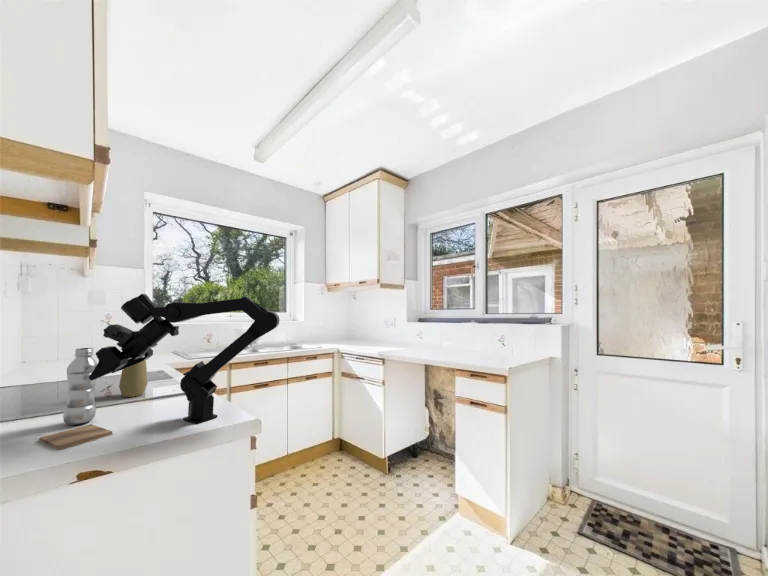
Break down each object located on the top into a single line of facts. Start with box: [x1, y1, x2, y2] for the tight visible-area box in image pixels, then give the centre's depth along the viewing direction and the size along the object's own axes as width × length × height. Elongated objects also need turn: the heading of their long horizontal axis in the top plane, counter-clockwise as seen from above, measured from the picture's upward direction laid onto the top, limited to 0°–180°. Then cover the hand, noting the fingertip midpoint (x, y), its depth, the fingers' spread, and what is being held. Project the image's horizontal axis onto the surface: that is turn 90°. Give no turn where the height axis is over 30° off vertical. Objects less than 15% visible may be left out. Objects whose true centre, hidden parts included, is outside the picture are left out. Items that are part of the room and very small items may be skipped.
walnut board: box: [38, 424, 113, 451], centre depth 80 cm, size 10×10×1 cm
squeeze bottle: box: [118, 356, 148, 398], centre depth 117 cm, size 8×8×18 cm
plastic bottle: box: [62, 347, 98, 426], centre depth 90 cm, size 6×7×20 cm
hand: (101, 375), depth 91 cm, fingers open, 9 cm apart
